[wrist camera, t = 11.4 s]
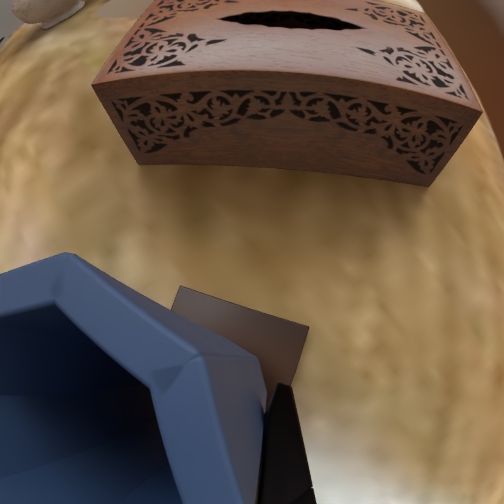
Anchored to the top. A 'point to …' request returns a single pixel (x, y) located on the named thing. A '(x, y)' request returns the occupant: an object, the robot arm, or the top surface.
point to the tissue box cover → (289, 88)
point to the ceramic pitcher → (45, 11)
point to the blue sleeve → (119, 396)
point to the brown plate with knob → (248, 333)
